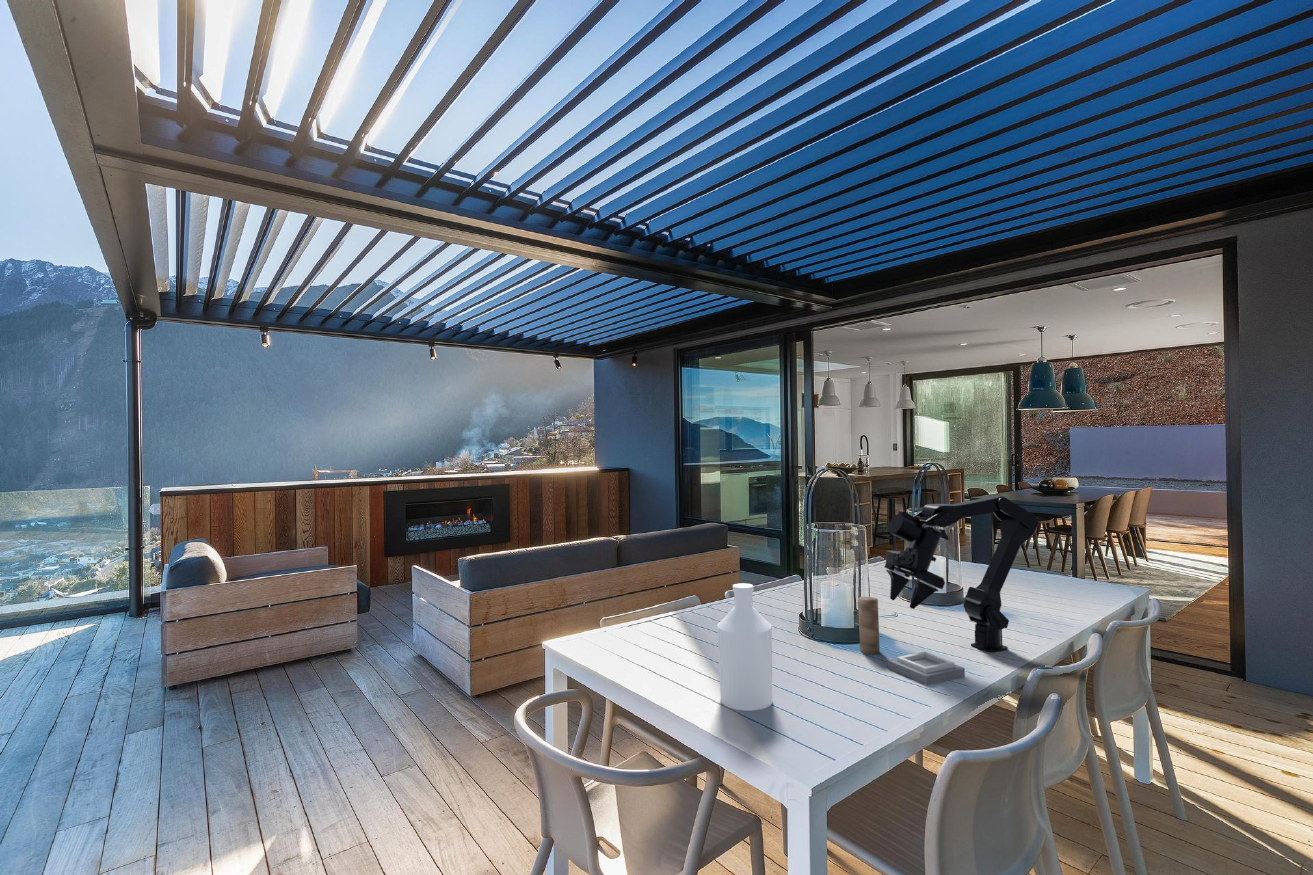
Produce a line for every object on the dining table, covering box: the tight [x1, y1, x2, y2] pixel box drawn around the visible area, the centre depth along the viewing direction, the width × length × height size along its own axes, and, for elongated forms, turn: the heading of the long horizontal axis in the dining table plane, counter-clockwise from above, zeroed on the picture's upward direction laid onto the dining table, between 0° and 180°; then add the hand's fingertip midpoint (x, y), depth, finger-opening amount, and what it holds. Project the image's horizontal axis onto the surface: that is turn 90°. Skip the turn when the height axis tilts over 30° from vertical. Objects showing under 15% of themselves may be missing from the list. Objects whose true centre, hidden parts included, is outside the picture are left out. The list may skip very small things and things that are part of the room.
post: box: [857, 596, 881, 655], centre depth 163 cm, size 5×5×14 cm
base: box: [887, 651, 966, 686], centre depth 147 cm, size 12×12×3 cm
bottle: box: [716, 582, 774, 712], centre depth 134 cm, size 12×12×25 cm
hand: (901, 603), depth 159 cm, fingers open, 9 cm apart
